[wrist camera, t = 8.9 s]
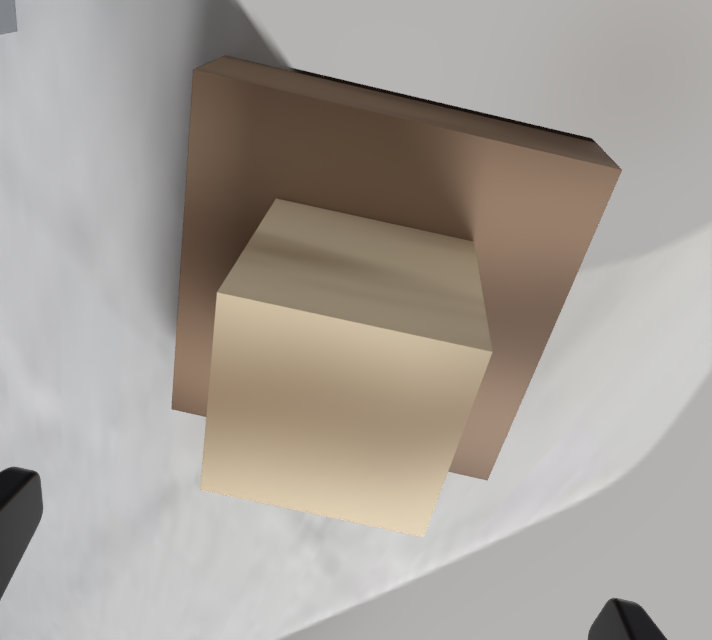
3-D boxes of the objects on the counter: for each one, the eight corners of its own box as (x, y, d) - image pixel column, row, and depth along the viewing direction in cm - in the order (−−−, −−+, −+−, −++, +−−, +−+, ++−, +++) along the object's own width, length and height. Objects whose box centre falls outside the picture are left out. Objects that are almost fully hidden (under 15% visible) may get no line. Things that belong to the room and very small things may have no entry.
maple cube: (424, 398, 18) (424, 537, 14) (254, 361, 18) (200, 489, 13) (473, 241, 15) (492, 352, 11) (276, 198, 15) (216, 292, 11)
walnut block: (480, 418, 22) (487, 480, 19) (202, 356, 22) (171, 409, 19) (591, 138, 17) (621, 170, 14) (230, 53, 17) (193, 69, 14)
